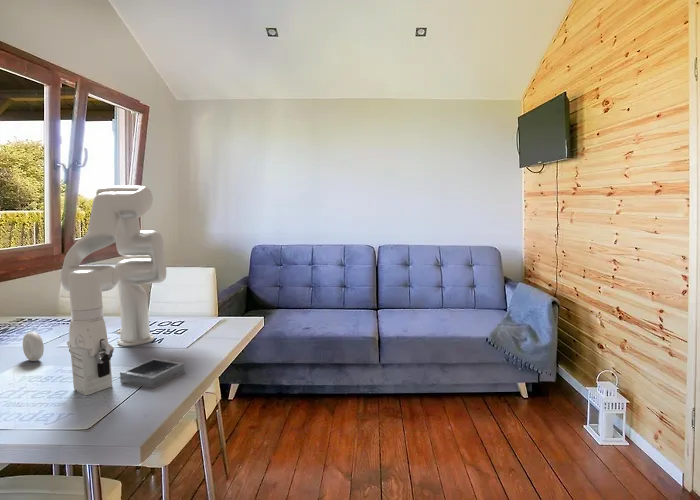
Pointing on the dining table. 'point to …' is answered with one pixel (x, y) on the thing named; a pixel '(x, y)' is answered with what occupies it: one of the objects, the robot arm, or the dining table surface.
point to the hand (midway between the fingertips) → (91, 373)
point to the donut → (33, 346)
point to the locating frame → (152, 373)
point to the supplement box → (88, 372)
